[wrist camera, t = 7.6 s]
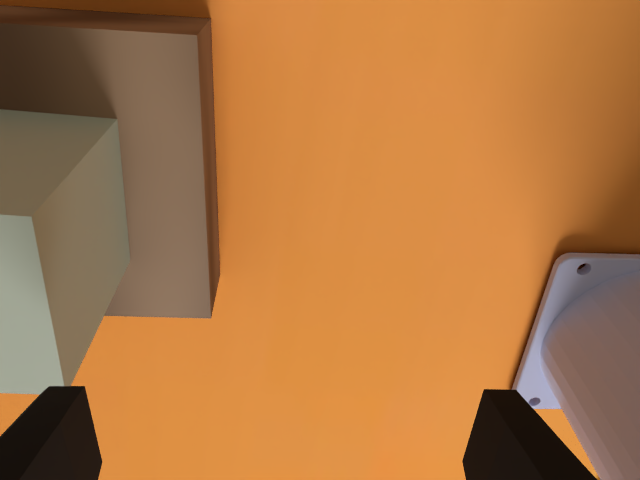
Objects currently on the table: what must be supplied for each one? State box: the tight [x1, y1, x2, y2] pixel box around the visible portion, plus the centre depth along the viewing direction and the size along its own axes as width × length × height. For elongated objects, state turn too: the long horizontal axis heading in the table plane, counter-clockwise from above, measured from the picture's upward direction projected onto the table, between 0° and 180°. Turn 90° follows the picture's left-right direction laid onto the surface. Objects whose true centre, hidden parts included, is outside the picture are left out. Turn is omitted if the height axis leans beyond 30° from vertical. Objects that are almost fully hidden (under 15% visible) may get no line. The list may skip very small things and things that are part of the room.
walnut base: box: [0, 5, 220, 318], centre depth 17 cm, size 9×9×3 cm
